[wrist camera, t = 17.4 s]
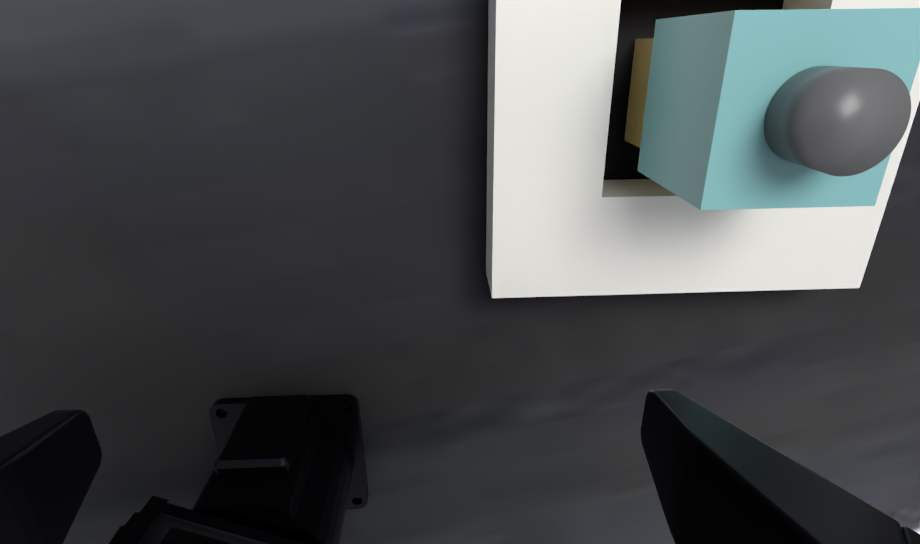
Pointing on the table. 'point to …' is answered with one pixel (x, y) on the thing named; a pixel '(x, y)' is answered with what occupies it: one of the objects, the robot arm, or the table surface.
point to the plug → (773, 105)
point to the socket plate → (630, 180)
